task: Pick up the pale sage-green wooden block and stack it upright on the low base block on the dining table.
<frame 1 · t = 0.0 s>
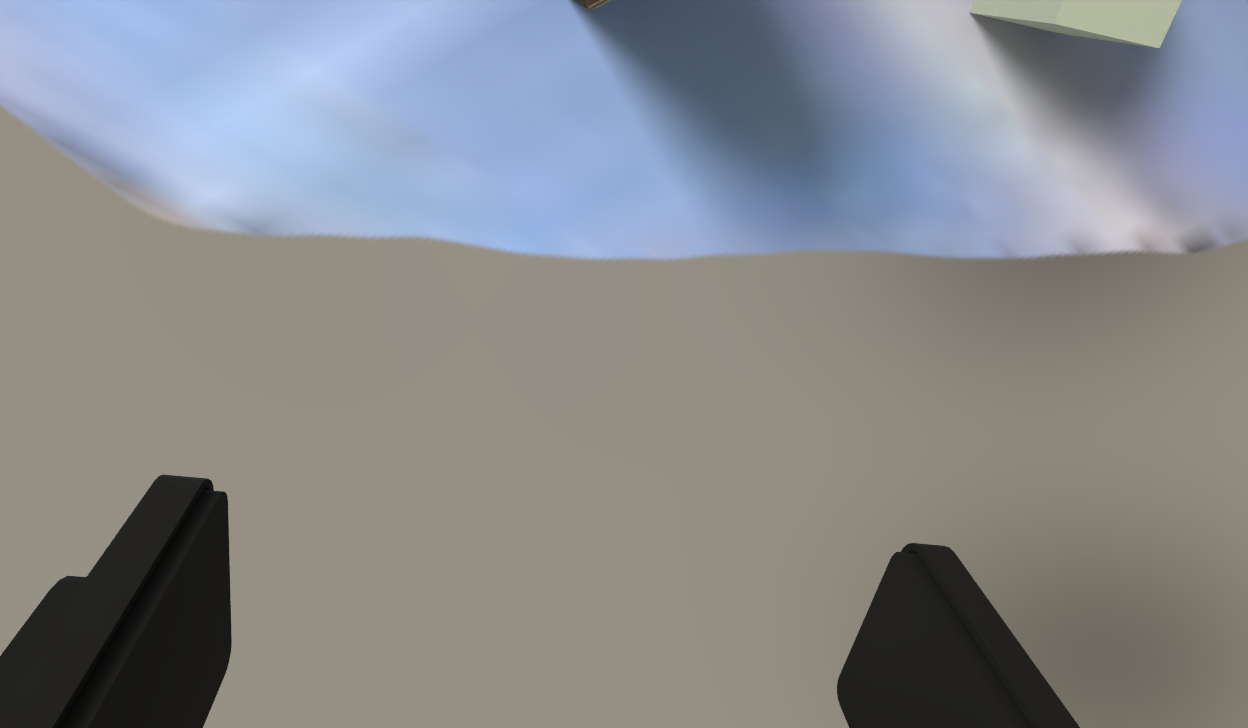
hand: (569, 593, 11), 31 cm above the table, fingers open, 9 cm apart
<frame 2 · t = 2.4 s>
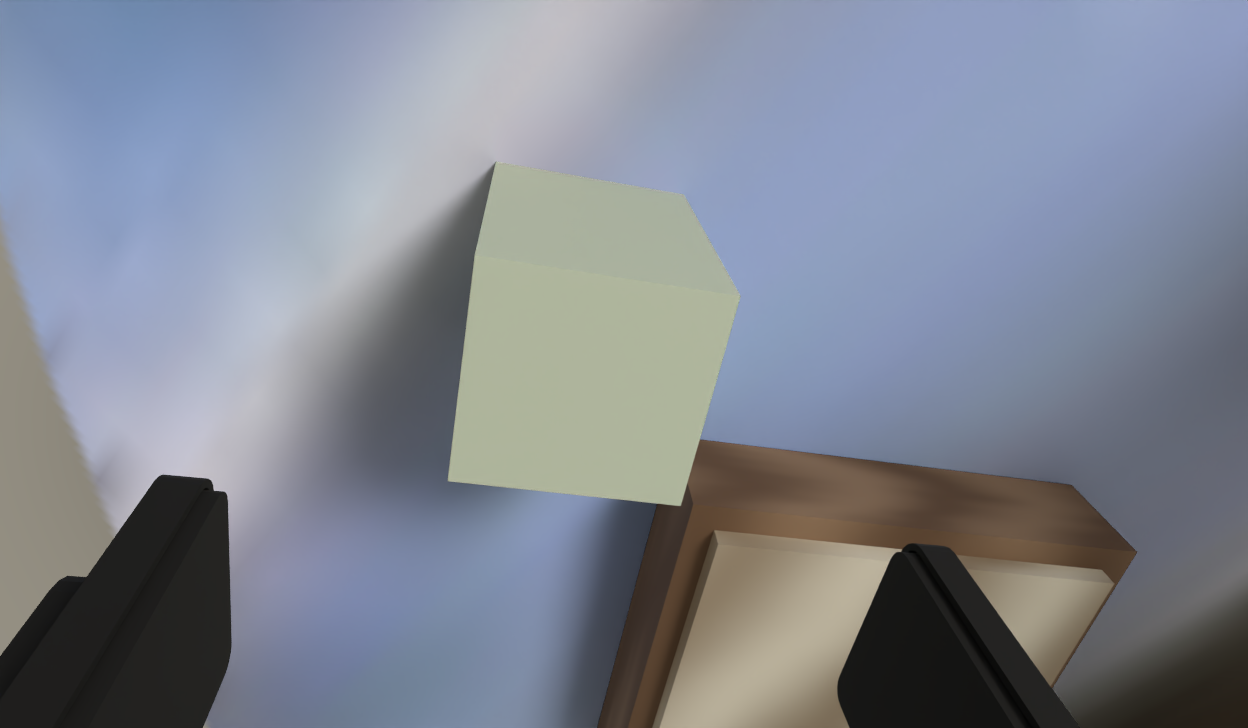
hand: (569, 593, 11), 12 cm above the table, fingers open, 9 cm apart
block: (575, 266, 22), on the table
base: (817, 619, 29), on the table
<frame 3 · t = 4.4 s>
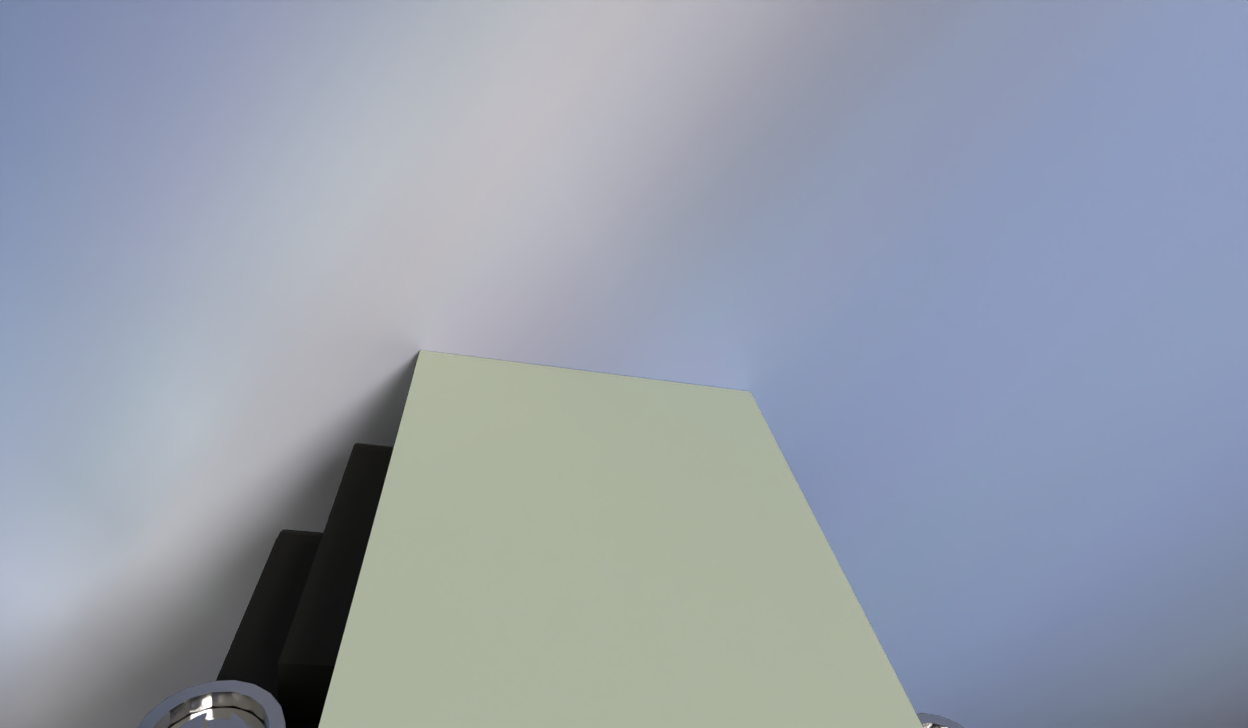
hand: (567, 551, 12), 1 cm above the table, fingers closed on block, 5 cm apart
block: (564, 506, 13), on the table, touching gripper
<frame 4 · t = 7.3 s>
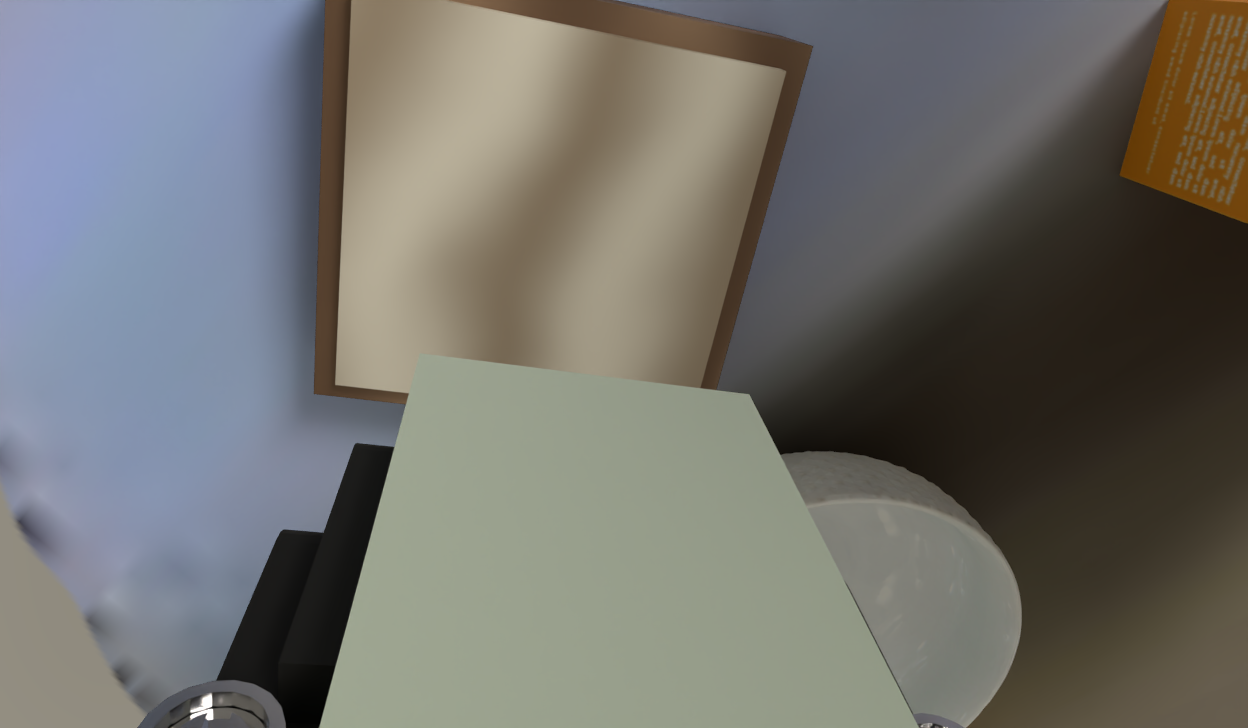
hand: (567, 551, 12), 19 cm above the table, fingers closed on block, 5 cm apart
cereal bowl: (768, 550, 38), on the table
block: (563, 509, 13), point 18 cm above the table, touching gripper
base: (544, 202, 29), on the table
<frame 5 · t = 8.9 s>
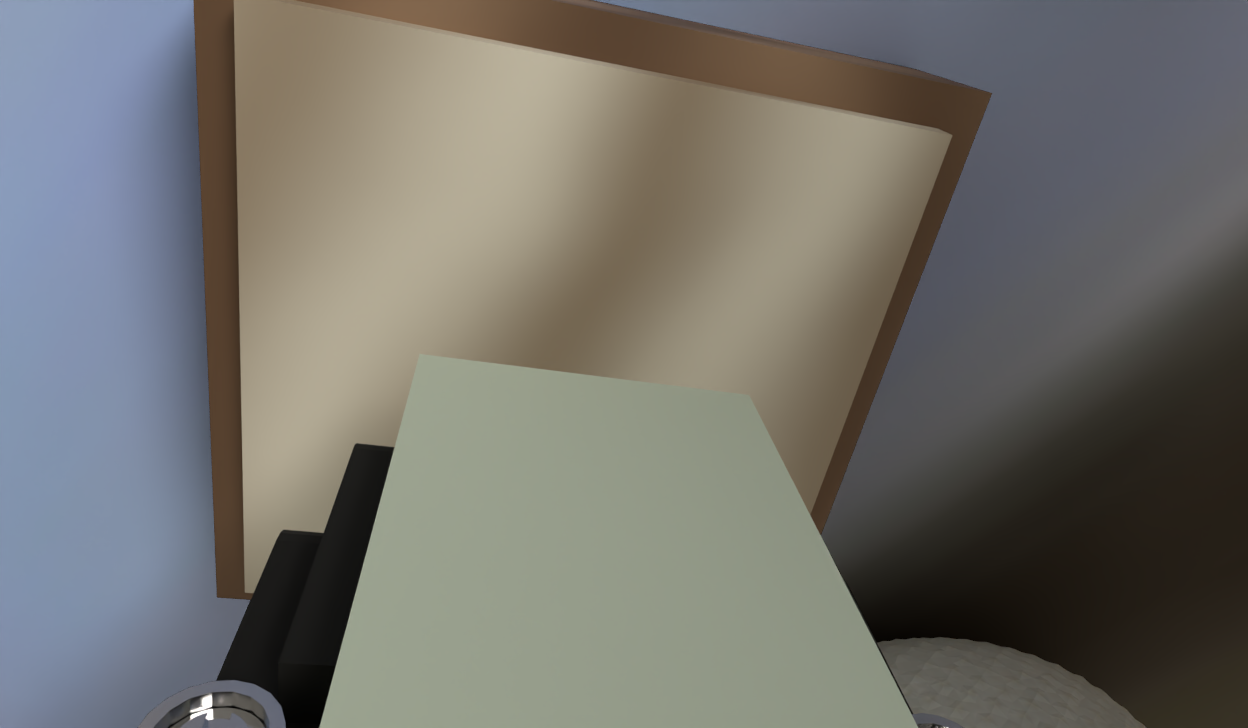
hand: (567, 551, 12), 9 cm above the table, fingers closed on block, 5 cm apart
block: (563, 509, 13), point 8 cm above the table, touching gripper
base: (557, 307, 20), on the table
when the fingers open (6 cm above the table, at t = 10.3 s): block stays where it is, resting on base.
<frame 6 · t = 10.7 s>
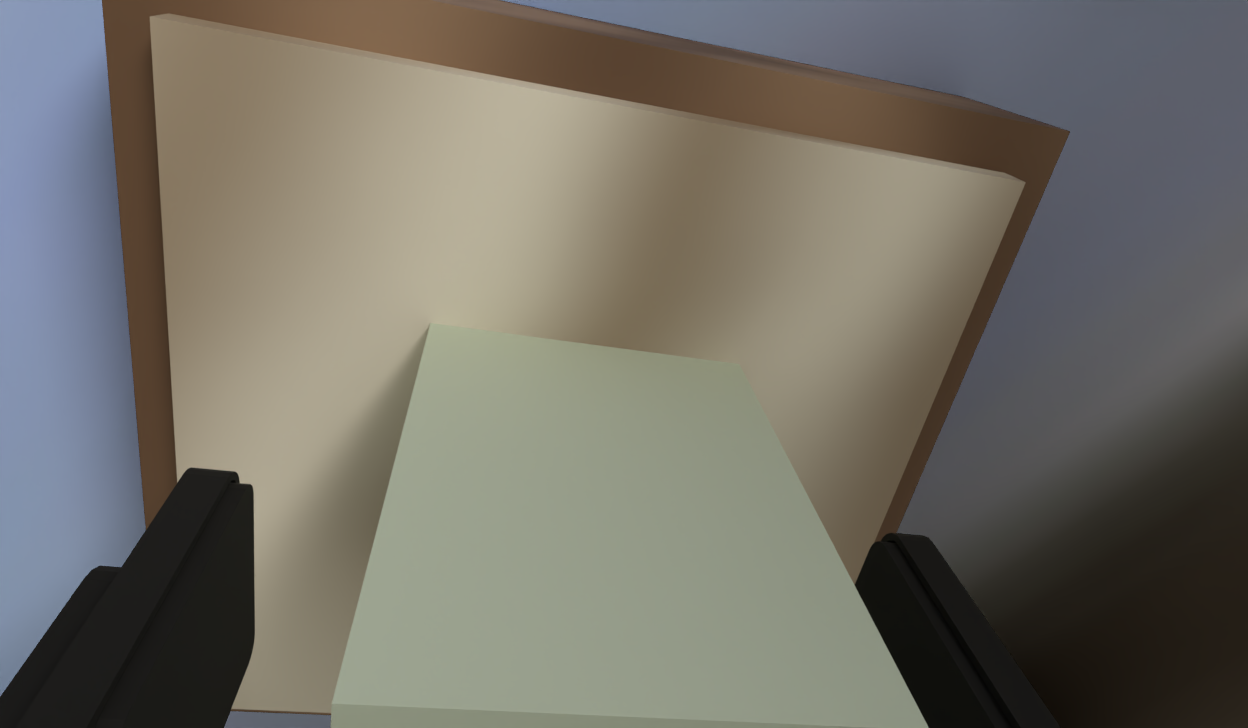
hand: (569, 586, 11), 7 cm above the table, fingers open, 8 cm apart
block: (564, 473, 14), point 4 cm above the table, touching base
base: (554, 367, 17), on the table
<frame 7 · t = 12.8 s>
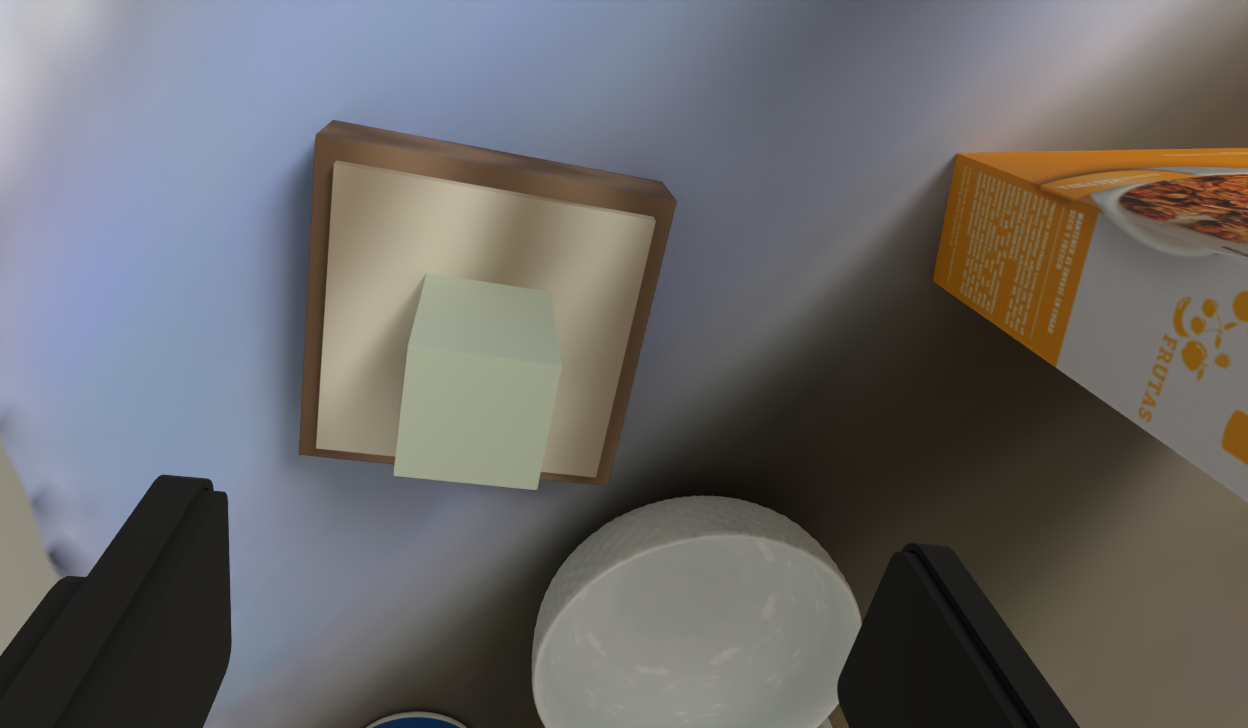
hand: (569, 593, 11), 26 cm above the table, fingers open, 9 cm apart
cereal box: (1153, 212, 40), on the table
cereal bowl: (673, 575, 46), on the table
block: (481, 338, 33), point 4 cm above the table, touching base
base: (482, 303, 37), on the table
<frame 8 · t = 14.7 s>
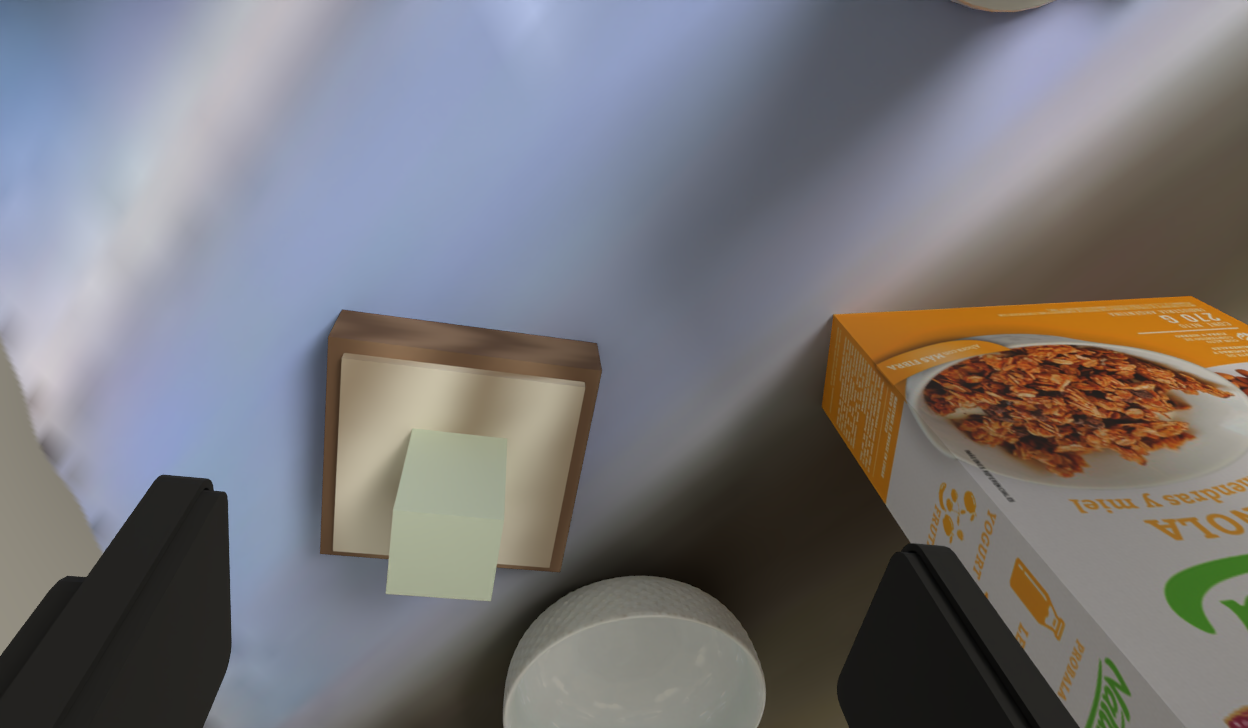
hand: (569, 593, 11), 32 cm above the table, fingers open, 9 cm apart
cereal box: (1003, 350, 49), on the table
cereal bowl: (623, 629, 56), on the table
block: (455, 471, 44), point 4 cm above the table, touching base
base: (460, 433, 47), on the table
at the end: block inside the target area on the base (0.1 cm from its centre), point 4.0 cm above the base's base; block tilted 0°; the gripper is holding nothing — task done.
